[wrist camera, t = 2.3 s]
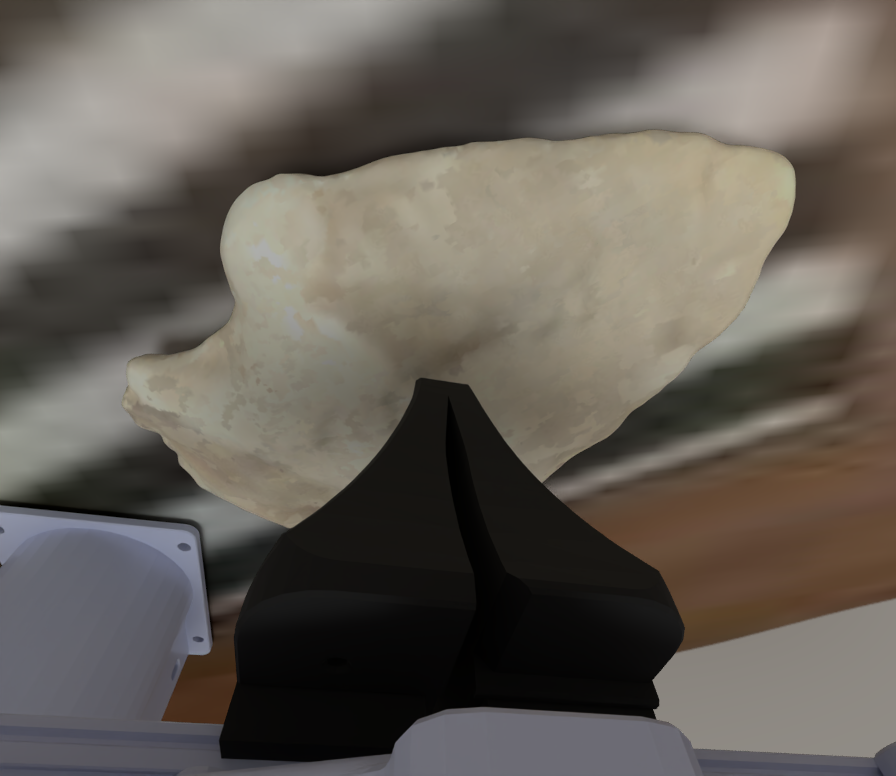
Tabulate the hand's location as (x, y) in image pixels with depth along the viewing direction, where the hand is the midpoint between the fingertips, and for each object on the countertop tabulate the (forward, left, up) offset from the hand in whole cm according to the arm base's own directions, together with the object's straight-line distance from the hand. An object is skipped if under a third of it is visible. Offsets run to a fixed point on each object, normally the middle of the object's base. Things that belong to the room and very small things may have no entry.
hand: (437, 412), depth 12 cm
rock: (0, 0, -5) cm, 5 cm away
